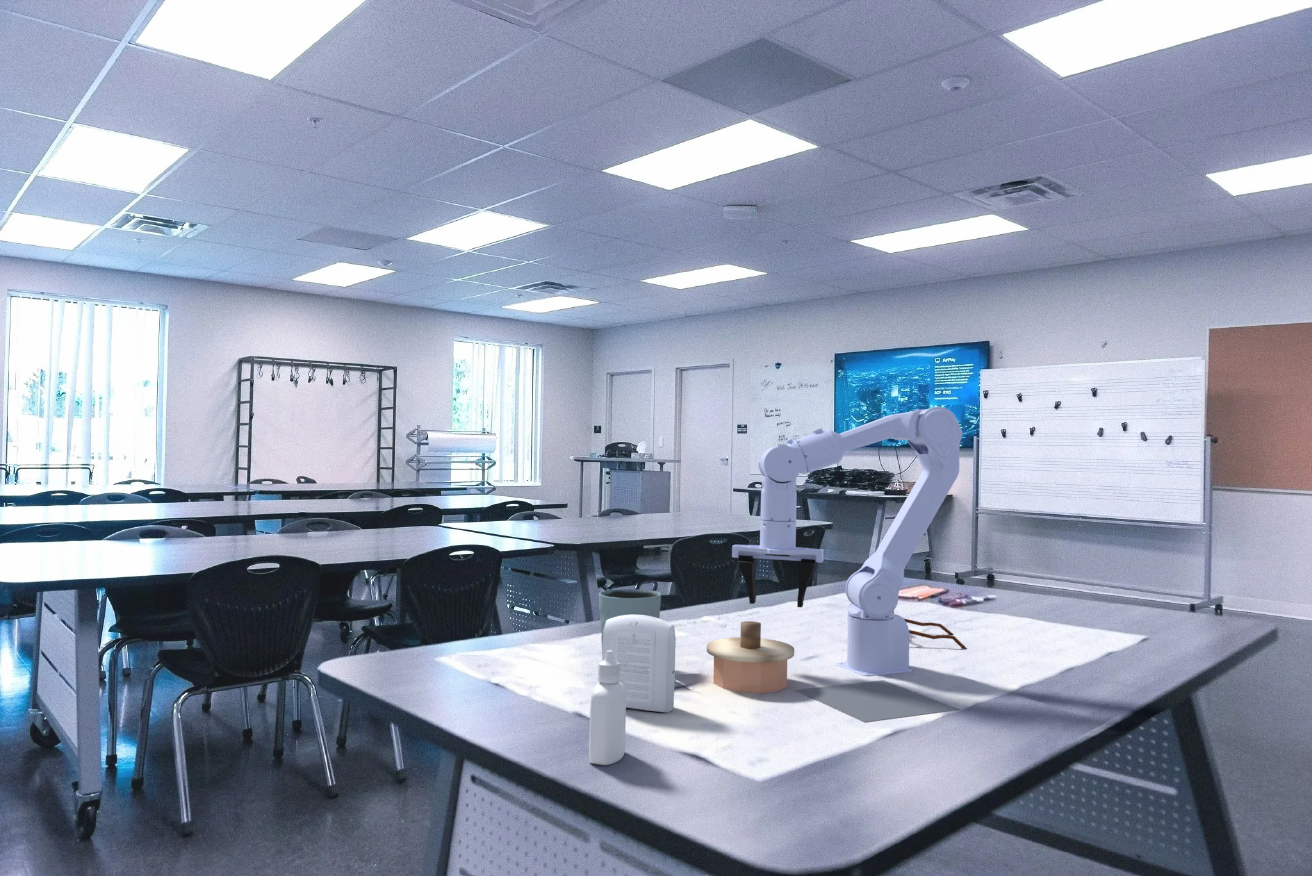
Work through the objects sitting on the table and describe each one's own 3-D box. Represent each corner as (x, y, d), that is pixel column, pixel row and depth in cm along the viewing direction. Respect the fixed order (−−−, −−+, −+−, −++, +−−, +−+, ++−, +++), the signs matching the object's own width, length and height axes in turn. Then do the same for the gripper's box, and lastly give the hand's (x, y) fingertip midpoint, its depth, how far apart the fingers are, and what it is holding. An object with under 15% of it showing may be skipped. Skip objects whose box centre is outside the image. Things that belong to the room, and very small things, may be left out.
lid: (763, 640, 138) (763, 613, 138) (811, 658, 127) (812, 628, 127) (691, 646, 133) (691, 618, 133) (735, 665, 121) (735, 634, 121)
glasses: (885, 633, 173) (885, 608, 173) (953, 636, 171) (953, 611, 171) (894, 647, 160) (894, 620, 160) (967, 651, 158) (968, 623, 158)
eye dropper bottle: (575, 757, 98) (577, 650, 98) (614, 747, 101) (617, 644, 101) (599, 769, 94) (601, 658, 95) (638, 757, 98) (640, 651, 98)
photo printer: (678, 706, 118) (680, 615, 119) (669, 715, 114) (671, 621, 114) (607, 698, 121) (609, 610, 122) (596, 707, 117) (598, 615, 118)
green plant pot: (623, 679, 132) (625, 600, 132) (583, 666, 139) (585, 591, 140) (673, 669, 138) (674, 594, 139) (632, 657, 146) (634, 586, 146)
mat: (883, 683, 133) (883, 680, 133) (960, 712, 118) (960, 709, 118) (794, 693, 126) (794, 689, 126) (864, 725, 111) (864, 721, 111)
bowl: (761, 673, 137) (762, 641, 137) (800, 691, 127) (801, 657, 127) (701, 679, 132) (701, 646, 132) (736, 698, 123) (737, 663, 123)
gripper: (729, 519, 138) (727, 605, 138) (821, 524, 134) (819, 612, 134) (737, 517, 145) (735, 598, 145) (825, 521, 141) (823, 604, 141)
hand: (776, 604), depth 140 cm, fingers open, 7 cm apart
